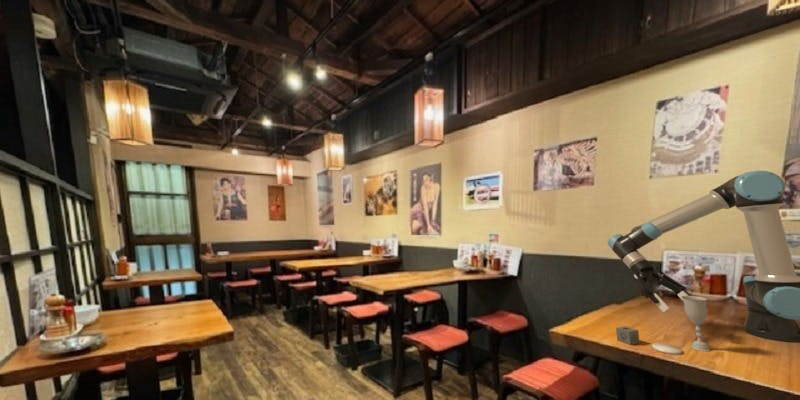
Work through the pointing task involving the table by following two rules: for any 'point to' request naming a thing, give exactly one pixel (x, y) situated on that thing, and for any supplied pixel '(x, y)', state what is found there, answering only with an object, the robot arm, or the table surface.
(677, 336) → the table surface
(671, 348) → the coaster
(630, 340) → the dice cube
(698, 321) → the chalice
